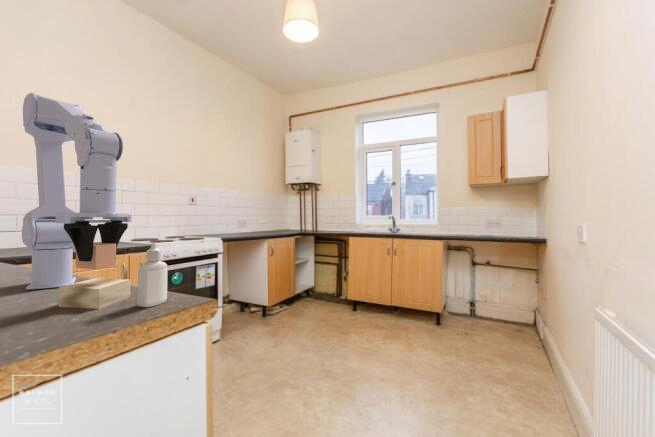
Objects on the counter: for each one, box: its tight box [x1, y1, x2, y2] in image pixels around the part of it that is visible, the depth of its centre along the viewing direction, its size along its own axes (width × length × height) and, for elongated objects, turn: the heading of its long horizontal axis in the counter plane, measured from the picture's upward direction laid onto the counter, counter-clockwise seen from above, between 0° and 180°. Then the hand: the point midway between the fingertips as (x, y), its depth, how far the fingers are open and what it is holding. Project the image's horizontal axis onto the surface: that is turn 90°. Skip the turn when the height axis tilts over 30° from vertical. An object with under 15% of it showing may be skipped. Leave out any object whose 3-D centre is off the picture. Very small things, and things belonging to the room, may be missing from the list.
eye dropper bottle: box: [136, 242, 168, 308], centre depth 60 cm, size 4×6×12 cm
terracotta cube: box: [75, 242, 117, 270], centre depth 60 cm, size 4×4×4 cm
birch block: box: [58, 277, 132, 310], centre depth 60 cm, size 8×8×4 cm
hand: (97, 259), depth 60 cm, fingers closed on terracotta cube, 4 cm apart
